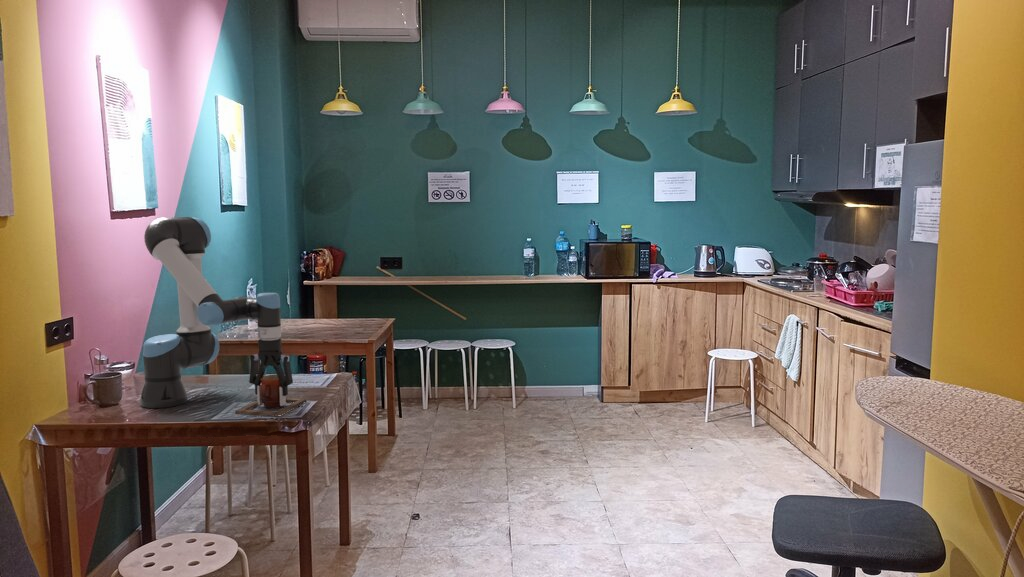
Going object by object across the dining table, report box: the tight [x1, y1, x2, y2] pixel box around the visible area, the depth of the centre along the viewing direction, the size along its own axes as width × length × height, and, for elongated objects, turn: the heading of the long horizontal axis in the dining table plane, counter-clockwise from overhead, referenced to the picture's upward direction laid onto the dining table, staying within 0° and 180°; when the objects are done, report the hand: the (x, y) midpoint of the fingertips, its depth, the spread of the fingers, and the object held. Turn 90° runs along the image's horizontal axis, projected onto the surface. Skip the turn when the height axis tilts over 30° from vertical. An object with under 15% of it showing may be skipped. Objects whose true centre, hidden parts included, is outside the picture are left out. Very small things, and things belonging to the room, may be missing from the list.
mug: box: [260, 374, 283, 409], centre depth 258 cm, size 12×9×10 cm
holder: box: [234, 397, 307, 417], centre depth 258 cm, size 16×19×1 cm
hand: (271, 404), depth 258 cm, fingers closed on mug, 7 cm apart
